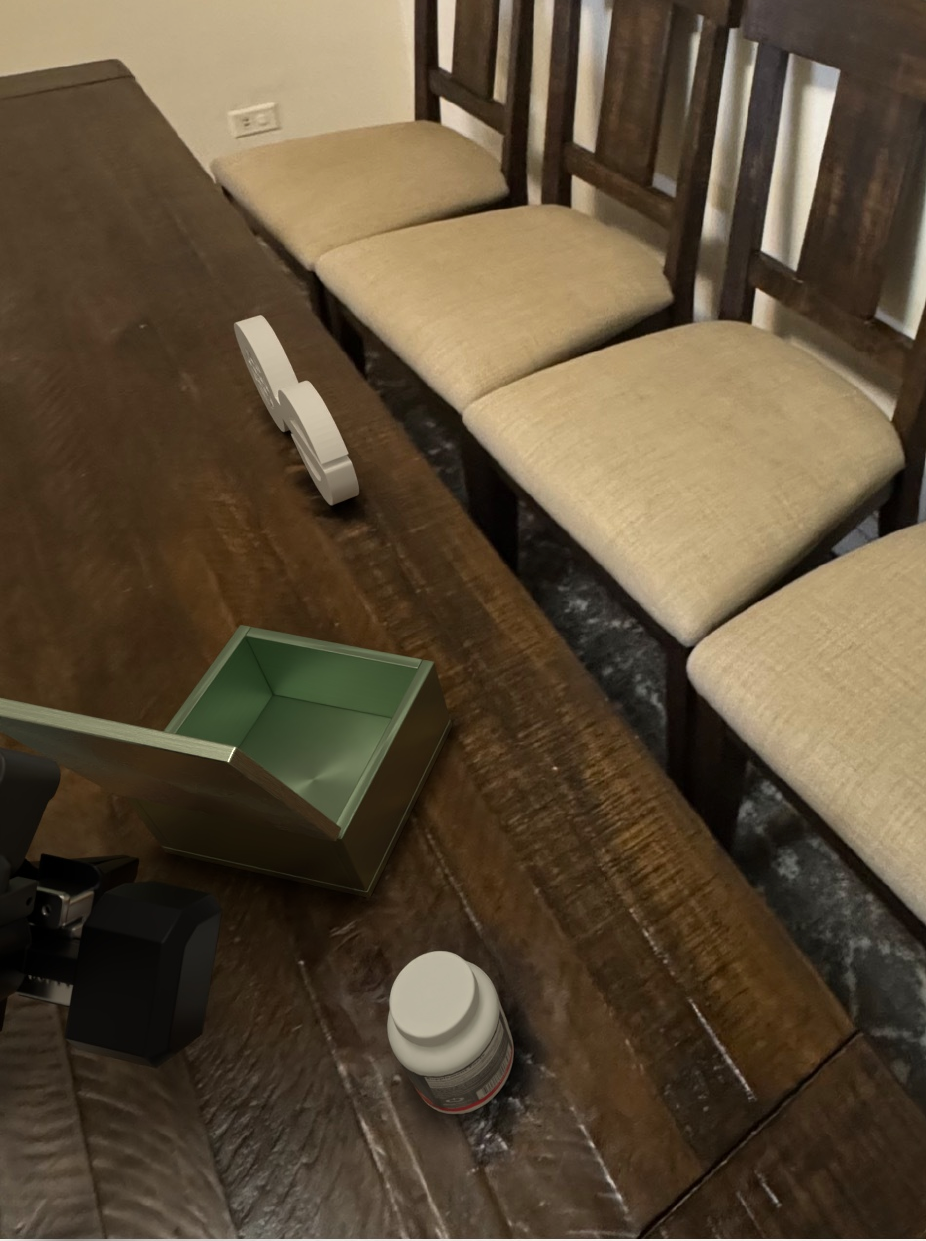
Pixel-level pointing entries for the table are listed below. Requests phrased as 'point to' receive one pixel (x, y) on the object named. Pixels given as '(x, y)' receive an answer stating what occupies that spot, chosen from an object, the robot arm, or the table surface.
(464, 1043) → the pill bottle
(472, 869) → the table surface
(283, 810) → the bin lid
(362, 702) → the bin
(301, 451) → the letter
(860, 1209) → the table surface
